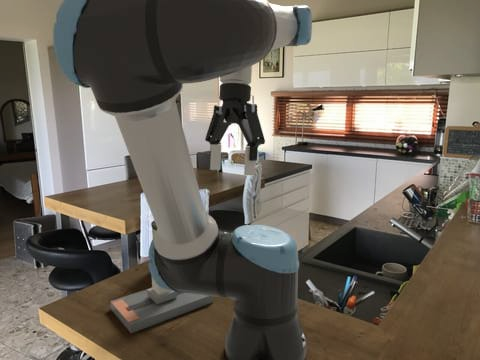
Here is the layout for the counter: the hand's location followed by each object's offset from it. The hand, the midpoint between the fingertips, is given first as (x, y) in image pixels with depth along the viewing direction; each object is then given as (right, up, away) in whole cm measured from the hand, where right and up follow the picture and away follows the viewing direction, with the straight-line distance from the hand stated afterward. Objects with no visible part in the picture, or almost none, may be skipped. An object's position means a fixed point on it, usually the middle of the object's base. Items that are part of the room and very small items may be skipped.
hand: (231, 172), depth 96 cm
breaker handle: (-16, -29, -6) cm, 33 cm away
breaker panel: (-16, -31, -6) cm, 35 cm away
